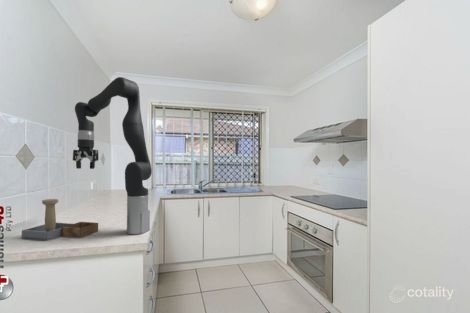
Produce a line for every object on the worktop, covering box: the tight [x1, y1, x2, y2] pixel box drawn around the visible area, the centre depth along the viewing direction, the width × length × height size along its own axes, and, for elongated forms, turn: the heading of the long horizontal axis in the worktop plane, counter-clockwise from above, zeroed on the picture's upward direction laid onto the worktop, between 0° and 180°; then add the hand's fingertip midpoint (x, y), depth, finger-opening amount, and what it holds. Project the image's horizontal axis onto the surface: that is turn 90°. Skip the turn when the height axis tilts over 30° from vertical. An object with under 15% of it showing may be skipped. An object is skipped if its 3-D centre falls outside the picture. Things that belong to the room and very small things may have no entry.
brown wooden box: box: [61, 221, 99, 239], centre depth 100 cm, size 10×9×4 cm
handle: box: [41, 198, 59, 232], centre depth 99 cm, size 5×6×15 cm
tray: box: [21, 222, 72, 242], centre depth 99 cm, size 14×13×4 cm
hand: (85, 168), depth 119 cm, fingers open, 8 cm apart
